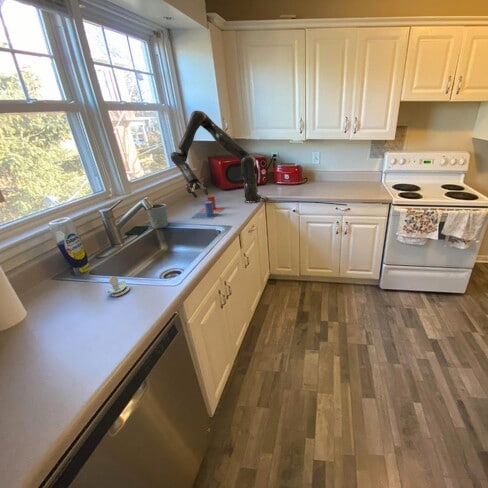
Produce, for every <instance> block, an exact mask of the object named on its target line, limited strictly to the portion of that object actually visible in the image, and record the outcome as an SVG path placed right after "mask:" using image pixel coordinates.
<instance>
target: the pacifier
mask: <svg viewBox="0 0 488 488" xmlns="http://www.w3.org/2000/svg"><path fill="white" fill-rule="evenodd" d="M108 283H109V284H110V286H111V287H112V288H111V289H107V290H105V291H104V292H105V293H107V294H111V296H112V297H119V296H122V295H124V294H125V293H127V292H128V291H129V290H130V289H131V288H130V286H129V285H127V281H125V280H121V281H119V279H118V277H116V276H114V275H113V276H111V277H109V279H108Z"/></svg>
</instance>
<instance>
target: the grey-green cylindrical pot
mask: <svg viewBox="0 0 488 488" xmlns="http://www.w3.org/2000/svg"><path fill="white" fill-rule="evenodd" d="M152 204H153V208H152V209H151V210H149V211H147V210H146V212H147V215H148V219H149V221H150V226H151V227H152V228H153V229H163V228H166V227H168V226H169V221H168V211H167V205H166V203H152Z"/></svg>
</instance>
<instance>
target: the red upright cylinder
mask: <svg viewBox="0 0 488 488" xmlns="http://www.w3.org/2000/svg"><path fill="white" fill-rule="evenodd" d="M206 200H207V201H212V204H213V210H216V208H217V206H216V199H215V195H206Z"/></svg>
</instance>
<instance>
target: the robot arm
mask: <svg viewBox="0 0 488 488" xmlns="http://www.w3.org/2000/svg"><path fill="white" fill-rule="evenodd" d="M200 127H202V128H203V129H204V130H206V131H207V132H208V133H209V134H210V135H211V136H212V138H213V139H214V141H215V142H216V143H217V144H218V145H219V146H220V147H221V148H222V149H223V150H225V151H227V152H228V153H230V154H232V155H233V156H235V157H236V158H238V160H240V166H241V167H240V168H241V169H240V170H241V176H242V179H243V192H244V202H245V203H247V204H254V203H257V202H259V201H260V200H263V201H264V202H265V203H268V204H269V203H270V204H273V203H274V204H284V203H285V204H286V203H288V204H290V203H292V204H294V203H301V204H302V203H304V204H305V203H306V204H307V203H308V204H325V205H336V206H348V204H346V203H335V202H324V201H305V200H303V201H301V200H300V201H297V200H295V201H294V200H293V201H292V200H291V201H288V200H287V201H286V200H283V201H275V200H274V201H268V200H266V199H265V198H264V197H262V196H261V194H259V190H258V189H259V188H258V186H257V174H256V171H255V166H256V164H257V160H256V158H255V157H254V156H253V155H252V154H250V153H249V152H248V151H247V150H245V149H244V148H243V147H242V146H241V145H240V144H238V142H236V140H234V139H233V138H232V137H231V136H230V135H229V134H228V133H227V132H226V131H225V130H223V128H222V127H219V126H218V125H217V123H215V122H214V121H213V120H212V119H211V117H210V116H208V115H207V114H206V113H205V112H204V111H201V110H194V111H192V112H191V114H190V117H189V120H188V124H187V126H186V128H185V132H184V133H183V135H182V137H181V140H180V142H179V143H178V146H177V148H178V150H180V152H178V151H172V152H171V154H170V160H171V162H172V163H173V164H174V165H175V166H176V167H177V168H178V169H179V171H180V172H181V174H182V176H183V178H184V180H185V181H186V183H187V184H185V186H184V188H185V189H186V191H187V193H188V194H191V195H192V196H193V198H195V199H197V198H198V195H197V193H196V190H201V191H203V192H204V194H205V196H209V192H208V189H209V186H208V185H207V184H206V182H205V181H204V180H202V181H200V180H199V178H198V176H197V175H196V173H195V172H194V170H193V169H192V168H191V166H190V164H189V163H187V160H188V157H189V156H188V155H189V151H190V149H191V147H192V146H193V143H194V140H195V136H196V133H197V131H198V130H199V128H200Z"/></svg>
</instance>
